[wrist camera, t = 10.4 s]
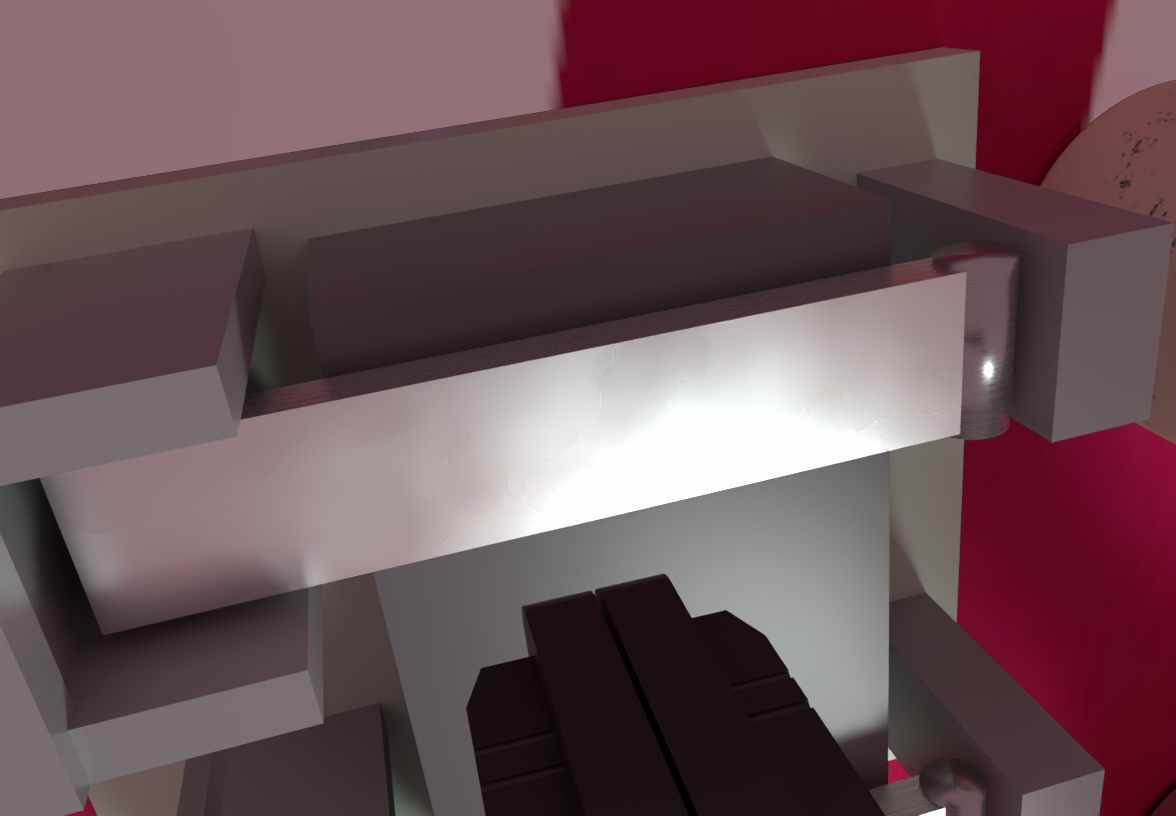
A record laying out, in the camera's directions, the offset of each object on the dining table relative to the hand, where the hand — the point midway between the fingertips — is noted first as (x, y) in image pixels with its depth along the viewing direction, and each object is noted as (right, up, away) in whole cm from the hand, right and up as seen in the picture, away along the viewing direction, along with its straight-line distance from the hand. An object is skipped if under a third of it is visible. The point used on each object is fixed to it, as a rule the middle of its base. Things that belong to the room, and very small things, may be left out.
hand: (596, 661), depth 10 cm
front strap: (-1, +3, +7) cm, 8 cm away
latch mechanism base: (-2, 0, +15) cm, 15 cm away
